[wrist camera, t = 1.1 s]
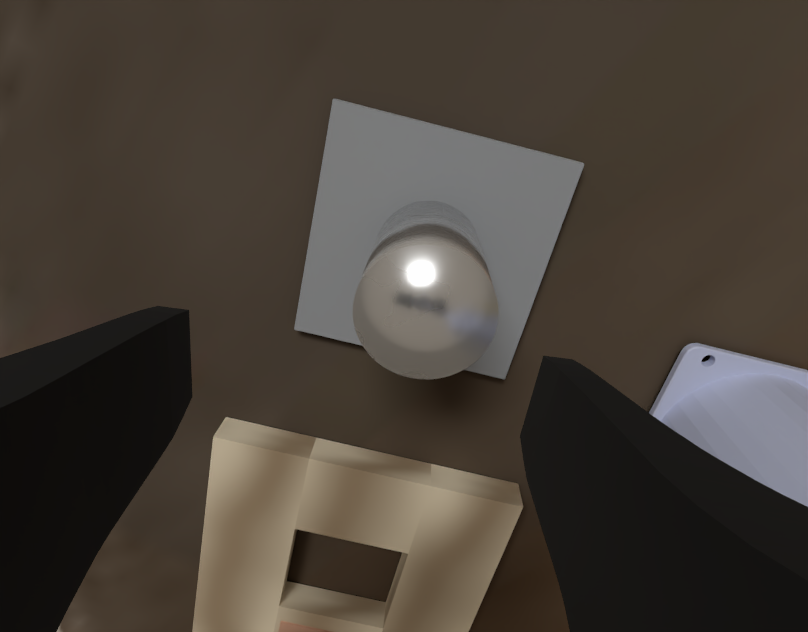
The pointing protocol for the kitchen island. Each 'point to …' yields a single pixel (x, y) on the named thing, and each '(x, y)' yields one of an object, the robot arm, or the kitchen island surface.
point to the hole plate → (343, 534)
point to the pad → (430, 181)
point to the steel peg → (426, 294)
